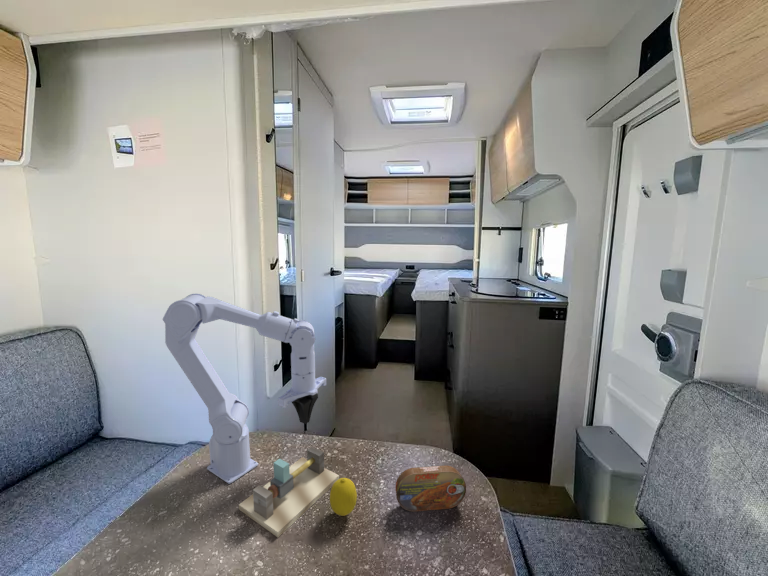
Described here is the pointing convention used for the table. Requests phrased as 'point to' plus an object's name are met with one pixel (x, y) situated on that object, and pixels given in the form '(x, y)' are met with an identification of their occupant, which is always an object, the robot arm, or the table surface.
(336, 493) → the lemon
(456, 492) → the tin
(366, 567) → the table surface
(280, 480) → the sleeve
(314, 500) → the rod and block board
